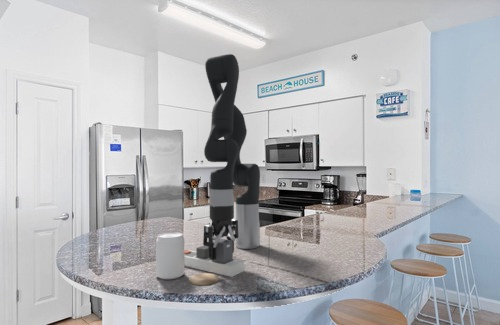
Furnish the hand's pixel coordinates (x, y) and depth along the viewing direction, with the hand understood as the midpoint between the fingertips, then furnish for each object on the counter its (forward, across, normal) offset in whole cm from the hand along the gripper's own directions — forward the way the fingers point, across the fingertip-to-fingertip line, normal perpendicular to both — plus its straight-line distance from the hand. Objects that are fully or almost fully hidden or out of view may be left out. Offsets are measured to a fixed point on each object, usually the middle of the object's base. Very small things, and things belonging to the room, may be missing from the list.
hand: (221, 256), depth 98 cm
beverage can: (+5, +12, -10) cm, 16 cm away
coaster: (+4, +9, +1) cm, 10 cm away
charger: (+2, 0, 0) cm, 2 cm away
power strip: (+4, 0, -7) cm, 8 cm away
